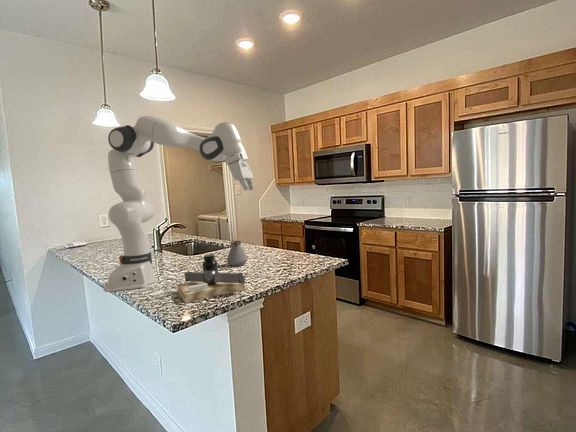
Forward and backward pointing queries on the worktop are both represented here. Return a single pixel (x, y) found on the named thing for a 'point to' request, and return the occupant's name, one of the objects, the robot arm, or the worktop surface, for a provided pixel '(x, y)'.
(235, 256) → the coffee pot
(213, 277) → the dark grey bar
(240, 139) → the robot arm
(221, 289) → the levelling stand
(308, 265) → the worktop surface
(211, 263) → the supplement bottle
